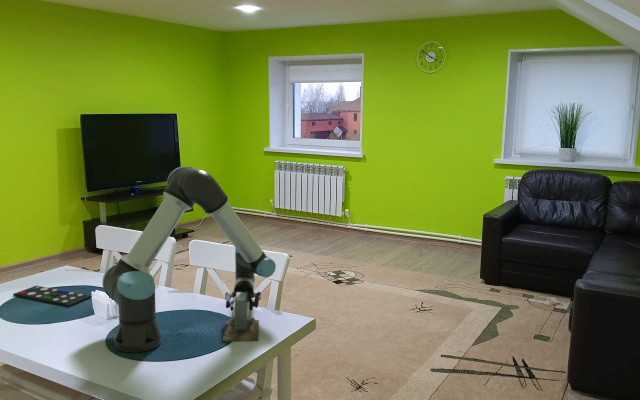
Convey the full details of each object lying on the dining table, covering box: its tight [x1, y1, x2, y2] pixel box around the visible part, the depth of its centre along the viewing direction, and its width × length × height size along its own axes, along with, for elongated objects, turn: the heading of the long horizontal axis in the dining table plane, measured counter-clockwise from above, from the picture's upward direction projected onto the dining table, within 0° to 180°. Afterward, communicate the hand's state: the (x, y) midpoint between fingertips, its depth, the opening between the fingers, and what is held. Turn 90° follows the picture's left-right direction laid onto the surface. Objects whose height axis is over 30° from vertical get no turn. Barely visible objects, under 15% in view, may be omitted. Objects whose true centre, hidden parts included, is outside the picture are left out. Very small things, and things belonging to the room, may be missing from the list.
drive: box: [234, 292, 249, 330], centre depth 196 cm, size 4×10×10 cm, turn 5°
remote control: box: [12, 285, 92, 308], centre depth 227 cm, size 11×30×2 cm, turn 68°
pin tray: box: [222, 317, 260, 342], centre depth 197 cm, size 12×16×4 cm
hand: (241, 312), depth 191 cm, fingers closed on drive, 4 cm apart
